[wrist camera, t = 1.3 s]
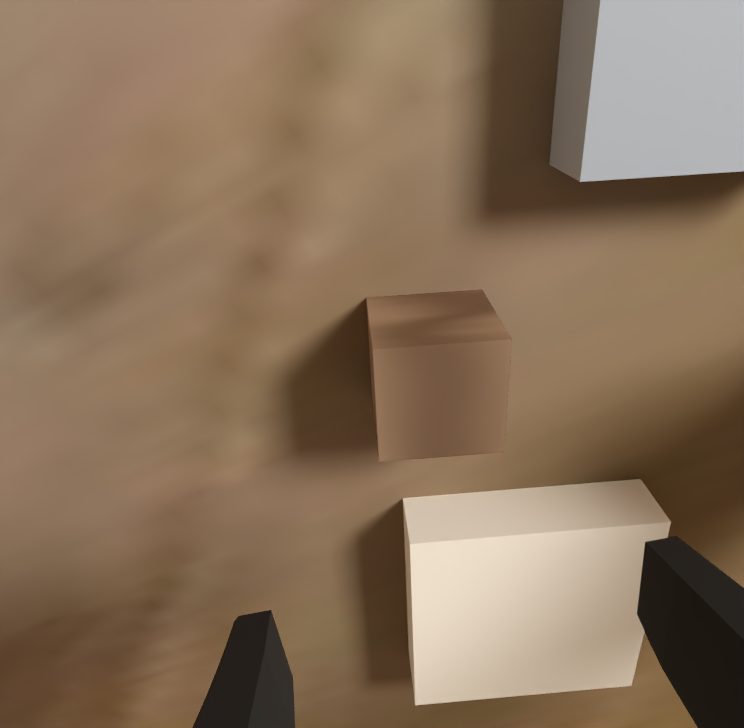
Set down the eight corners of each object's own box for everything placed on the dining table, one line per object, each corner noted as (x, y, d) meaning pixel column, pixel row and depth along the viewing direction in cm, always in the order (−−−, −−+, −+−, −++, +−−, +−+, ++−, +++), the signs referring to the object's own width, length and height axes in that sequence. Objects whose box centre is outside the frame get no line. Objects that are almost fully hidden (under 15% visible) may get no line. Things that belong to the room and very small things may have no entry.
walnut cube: (481, 288, 21) (512, 339, 17) (478, 388, 22) (504, 452, 19) (366, 296, 21) (372, 349, 17) (372, 396, 22) (379, 461, 19)
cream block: (635, 472, 25) (671, 522, 23) (605, 629, 30) (631, 685, 27) (401, 491, 25) (409, 543, 22) (407, 646, 30) (415, 705, 27)
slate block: (878, -179, 15) (991, -224, 13) (791, 147, 19) (863, 163, 17) (572, -164, 15) (623, -207, 13) (545, 162, 19) (580, 181, 16)
